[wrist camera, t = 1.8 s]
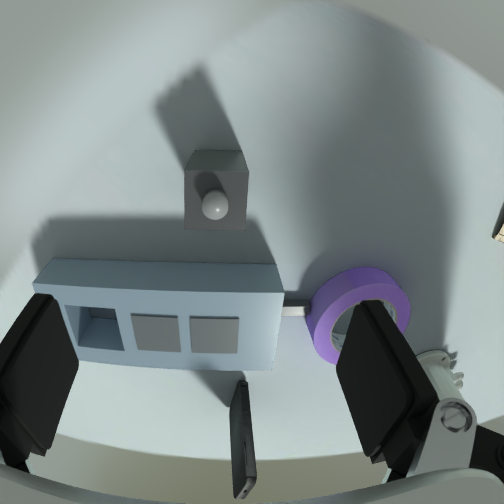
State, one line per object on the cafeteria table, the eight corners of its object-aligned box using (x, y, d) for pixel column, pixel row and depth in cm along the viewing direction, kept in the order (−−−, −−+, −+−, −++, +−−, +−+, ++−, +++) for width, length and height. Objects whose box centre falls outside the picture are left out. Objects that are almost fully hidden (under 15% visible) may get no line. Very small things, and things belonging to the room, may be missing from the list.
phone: (236, 410, 43) (242, 500, 30) (228, 409, 43) (233, 500, 30) (247, 377, 40) (258, 480, 26) (239, 377, 40) (247, 480, 26)
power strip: (314, 264, 32) (328, 293, 28) (300, 337, 37) (309, 369, 32) (52, 258, 30) (31, 284, 25) (72, 329, 34) (58, 358, 30)
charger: (242, 150, 27) (250, 176, 19) (239, 194, 28) (246, 238, 20) (195, 149, 26) (182, 174, 18) (194, 193, 28) (182, 236, 20)
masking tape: (327, 256, 32) (338, 276, 29) (412, 274, 35) (428, 292, 31) (292, 340, 37) (298, 363, 34) (372, 347, 40) (382, 367, 36)
